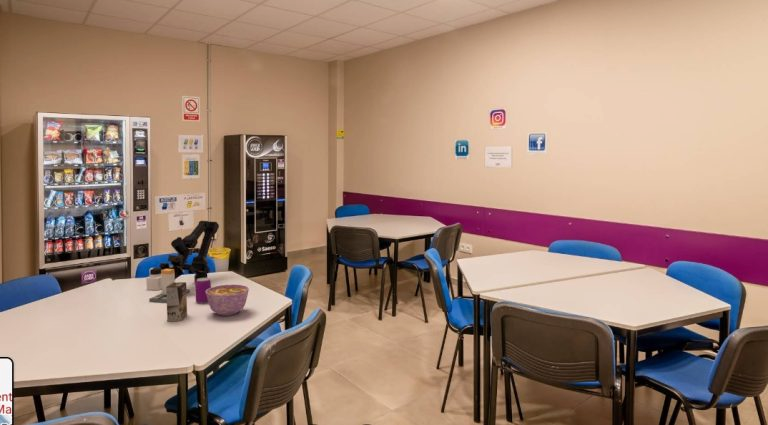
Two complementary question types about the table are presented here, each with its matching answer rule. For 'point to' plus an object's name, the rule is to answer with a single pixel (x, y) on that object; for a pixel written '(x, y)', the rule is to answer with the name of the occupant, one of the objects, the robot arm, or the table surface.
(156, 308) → the table surface
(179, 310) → the coffee box
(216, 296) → the bowl of food
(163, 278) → the fader knob
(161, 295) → the board
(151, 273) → the medicine bottle
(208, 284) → the beverage can
